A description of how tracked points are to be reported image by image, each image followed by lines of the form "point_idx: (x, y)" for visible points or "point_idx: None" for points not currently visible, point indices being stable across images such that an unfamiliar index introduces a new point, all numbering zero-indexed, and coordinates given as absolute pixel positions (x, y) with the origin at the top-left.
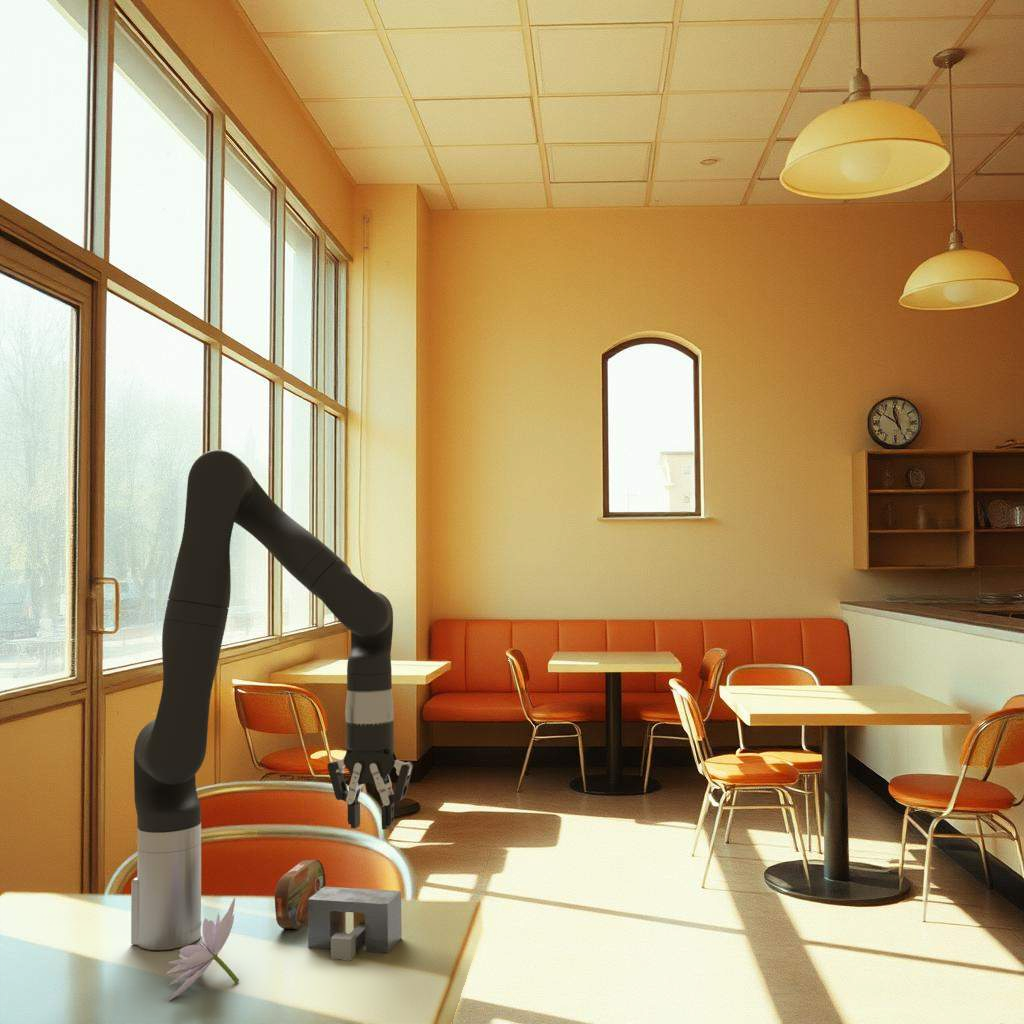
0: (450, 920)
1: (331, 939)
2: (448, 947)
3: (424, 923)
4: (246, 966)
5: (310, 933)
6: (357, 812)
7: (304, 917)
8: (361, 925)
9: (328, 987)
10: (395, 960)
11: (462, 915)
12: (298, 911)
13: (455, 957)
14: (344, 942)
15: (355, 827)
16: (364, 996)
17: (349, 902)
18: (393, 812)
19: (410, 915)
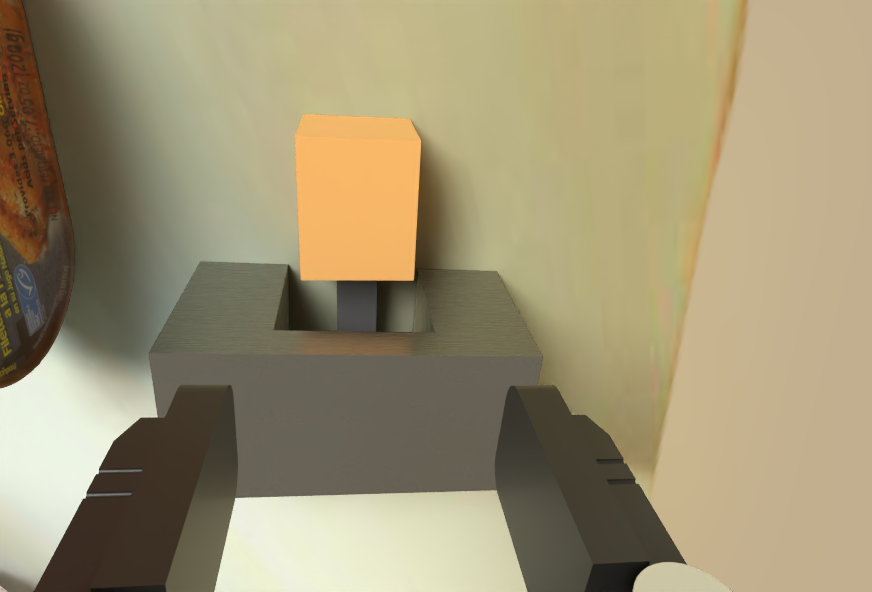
0: (654, 72)
1: None
2: (651, 317)
3: (555, 117)
4: None
5: None
6: (206, 549)
7: (34, 160)
8: (352, 288)
9: (385, 565)
10: None
11: (702, 3)
12: (25, 236)
13: (671, 377)
14: None
15: (235, 477)
16: (480, 581)
17: (359, 492)
18: (642, 505)
19: (483, 24)
